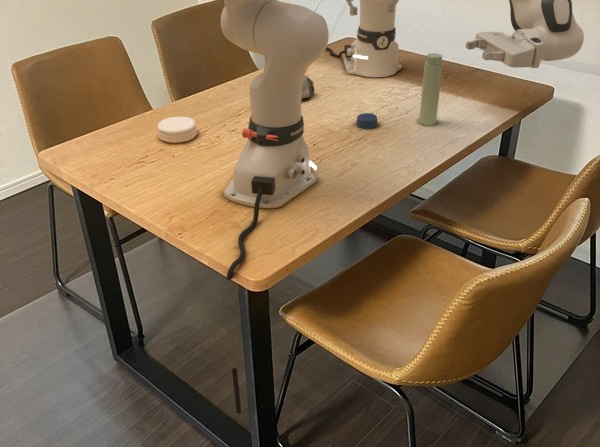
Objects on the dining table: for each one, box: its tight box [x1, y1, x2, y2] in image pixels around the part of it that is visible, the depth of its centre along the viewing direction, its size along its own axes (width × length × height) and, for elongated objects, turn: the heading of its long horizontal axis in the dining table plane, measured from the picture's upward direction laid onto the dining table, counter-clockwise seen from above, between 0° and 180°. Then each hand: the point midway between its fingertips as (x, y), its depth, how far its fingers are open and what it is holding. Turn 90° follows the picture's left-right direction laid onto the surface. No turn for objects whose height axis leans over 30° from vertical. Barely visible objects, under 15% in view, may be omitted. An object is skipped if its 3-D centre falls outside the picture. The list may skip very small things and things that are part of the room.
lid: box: [356, 112, 378, 130], centre depth 167 cm, size 5×5×2 cm
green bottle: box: [418, 52, 444, 126], centre depth 164 cm, size 5×5×18 cm
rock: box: [301, 75, 315, 100], centre depth 186 cm, size 15×10×7 cm
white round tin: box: [156, 116, 198, 144], centre depth 162 cm, size 10×10×4 cm
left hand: (372, 13), depth 152 cm, fingers open, 8 cm apart
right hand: (475, 50), depth 161 cm, fingers open, 8 cm apart
